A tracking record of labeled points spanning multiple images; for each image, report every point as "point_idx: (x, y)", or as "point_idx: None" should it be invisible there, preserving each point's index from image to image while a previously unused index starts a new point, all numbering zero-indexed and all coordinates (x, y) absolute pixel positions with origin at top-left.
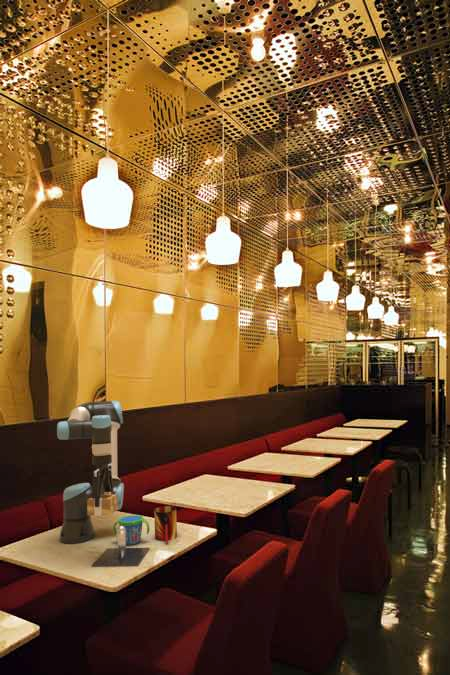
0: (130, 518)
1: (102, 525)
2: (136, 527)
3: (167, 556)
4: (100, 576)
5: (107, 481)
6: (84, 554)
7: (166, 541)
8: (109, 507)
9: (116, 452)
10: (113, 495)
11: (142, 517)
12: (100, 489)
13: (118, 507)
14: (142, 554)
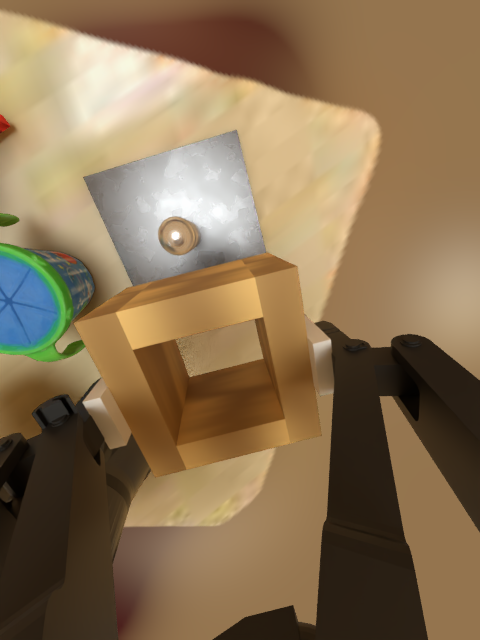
0: None
1: None
2: (37, 253)
3: (121, 52)
4: (324, 213)
5: (78, 529)
6: (202, 355)
7: (6, 122)
8: (277, 258)
9: None
10: (137, 329)
11: None
12: (375, 393)
13: None
14: (152, 167)
